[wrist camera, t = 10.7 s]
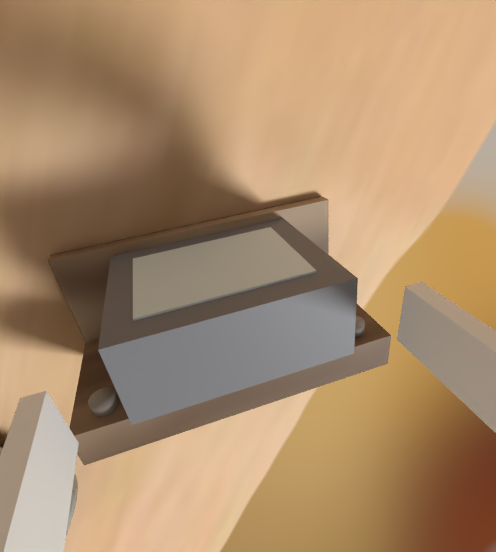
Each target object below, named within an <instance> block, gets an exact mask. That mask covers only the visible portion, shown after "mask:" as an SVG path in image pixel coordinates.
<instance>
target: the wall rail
mask: <svg viewBox="0 0 496 552" xmlns="http://www.w3.org/2000/svg"><path fill="white" fill-rule="evenodd" d="M279 218H284V219H285V220H286V221H287V222H289V223H290V224H291V225H292V226H294V227H295V228H296V229H297V230H298V231H300V232H301V233H302V234H303V235H305V236H306V237H307V238H308V239H310V240H311V241H312V242H313V243H315V244H316V245H317V246H318V247H319V248H321V249H322V250H323V251H324V252H326V253H327V254H328V199H326V198H324V197H317V198H313V199H308V200H304V201H299V202H294V203H290V204H285V205H280V206H276V207H271V208H267V209H262V210H257V211H253V212H248V213H243V214H239V215H234V216H230V217H225V218H220V219H216V220H211V221H206V222H202V223H197V224H193V225H188V226H183V227H179V228H174V229H169V230H165V231H160V232H156V233H151V234H146V235H142V236H137V237H132V238H128V239H123V240H119V241H114V242H109V243H105V244H100V245H95V246H91V247H86V248H82V249H77V250H72V251H68V252H63V253H58V254H54V255H51V257H50V259H49V261H48V262H49V264H50V266H51V268H52V271H53V273H54V275H55V277H56V279H57V281H58V283H59V286H60V288H61V290H62V292H63V294H64V296H65V299H66V301H67V303H68V305H69V307H70V309H71V312H72V314H73V316H74V318H75V320H76V322H77V325H78V327H79V329H80V331H81V333H82V335H83V337H84V340H85V342H86V344H85V349H84V355H83V360H82V365H81V371H80V376H79V381H78V386H77V392H76V397H75V402H74V408H73V413H72V418H71V423H70V430H71V431H72V433H73V435H74V436H75V438H76V440H77V441H78V443H79V445H78V452H77V454H78V456H79V457H80V459H81V461H82V462H83V464H84V465H87V464H90V463H93V462H96V461H99V460H101V459H104V458H107V457H110V456H113V455H116V454H119V453H122V452H125V451H128V450H131V449H134V448H137V447H140V446H143V445H146V444H149V443H152V442H155V441H158V440H161V439H164V438H167V437H170V436H173V435H176V434H179V433H182V432H185V431H188V430H191V429H194V428H197V427H200V426H203V425H206V424H209V423H212V422H215V421H218V420H221V419H224V418H227V417H230V416H233V415H236V414H239V413H242V412H245V411H248V410H251V409H254V408H257V407H260V406H263V405H266V404H269V403H271V402H274V401H277V400H280V399H283V398H286V397H289V396H292V395H295V394H298V393H301V392H304V391H307V390H310V389H313V388H316V387H319V386H322V385H325V384H328V383H331V382H334V381H337V380H340V379H343V378H346V377H349V376H352V375H355V374H358V373H361V372H364V371H367V370H370V369H373V368H376V367H378V366H382V365H385V364H387V363H388V356H389V348H390V339H391V335H390V334H389V333H388V332H387V331H386V330H385V329H383V328H382V327H381V326H380V325H379V324H378V323H377V322H376V321H375V320H374V319H372V317H371V316H369V315H368V314H367V313H366V312H365V311H364V310H363V309H362V308H361V307H360V306H359V305H358V304H356V323H355V344H354V354H351V355H348V356H345V357H341V358H338V359H335V360H332V361H329V362H326V363H323V364H320V365H317V366H314V367H310V368H307V369H304V370H301V371H298V372H295V373H292V374H289V375H286V376H283V377H279V378H276V379H273V380H270V381H267V382H264V383H261V384H258V385H255V386H252V387H248V388H245V389H242V390H239V391H236V392H233V393H230V394H227V395H224V396H221V397H217V398H214V399H211V400H208V401H205V402H202V403H199V404H196V405H193V406H190V407H186V408H183V409H180V410H177V411H174V412H171V413H168V414H165V415H162V416H159V417H155V418H152V419H149V420H146V421H143V422H140V423H137V424H134V425H131V422H130V420H129V418H128V416H127V413H126V411H125V409H124V407H123V404H122V402H121V400H120V398H119V396H118V393H117V391H116V389H115V387H114V384H113V382H112V380H111V378H110V375H109V373H108V371H107V369H106V367H105V364H104V362H103V360H102V358H101V355H100V353H99V351H98V347H99V339H100V332H101V325H102V317H103V310H104V302H105V295H106V288H107V280H108V273H109V266H110V258H111V256H115V255H120V254H124V253H128V252H133V251H137V250H142V249H146V248H151V247H155V246H160V245H164V244H168V243H173V242H177V241H182V240H186V239H191V238H195V237H199V236H204V235H208V234H213V233H217V232H222V231H226V230H231V229H235V228H239V227H244V226H248V225H253V224H257V223H262V222H266V221H270V220H275V219H279Z"/></svg>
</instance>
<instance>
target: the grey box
mask: <svg viewBox="0 0 496 552" xmlns="http://www.w3.org/2000/svg"><path fill="white" fill-rule="evenodd" d="M357 282H358V278H356V277H355V276H354V275H353V274H352V273H350V272H349V271H348V270H347V269H345V268H344V267H343V266H342V265H340V264H339V263H338V262H337V261H335V260H334V259H333V258H332V257H331V256H329V255H328V254H327V253H326V252H324V251H323V250H322V249H321V248H319V247H318V246H317V245H316V244H315V243H313V242H312V241H311V240H310V239H308V238H307V237H306V236H305V235H303V234H302V233H301V232H300V231H298V230H297V229H296V228H295V227H294V226H292V225H291V224H290V223H289V222H287V221H286V220H285V219H284V218H279V219H275V220H270V221H266V222H262V223H257V224H253V225H248V226H244V227H239V228H235V229H231V230H226V231H222V232H217V233H213V234H208V235H204V236H199V237H195V238H191V239H186V240H182V241H177V242H173V243H168V244H164V245H160V246H155V247H151V248H146V249H142V250H137V251H133V252H128V253H124V254H120V255H115V256H111V258H110V266H109V273H108V280H107V288H106V295H105V302H104V310H103V317H102V325H101V332H100V339H99V347H98V351H99V353H100V355H101V358H102V360H103V362H104V364H105V367H106V369H107V371H108V373H109V375H110V378H111V380H112V382H113V384H114V387H115V389H116V391H117V393H118V396H119V398H120V400H121V402H122V404H123V407H124V409H125V411H126V413H127V416H128V418H129V420H130V422H131V425H134V424H137V423H140V422H143V421H146V420H149V419H152V418H155V417H159V416H162V415H165V414H168V413H171V412H174V411H177V410H180V409H183V408H186V407H190V406H193V405H196V404H199V403H202V402H205V401H208V400H211V399H214V398H217V397H221V396H224V395H227V394H230V393H233V392H236V391H239V390H242V389H245V388H248V387H252V386H255V385H258V384H261V383H264V382H267V381H270V380H273V379H276V378H279V377H283V376H286V375H289V374H292V373H295V372H298V371H301V370H304V369H307V368H310V367H314V366H317V365H320V364H323V363H326V362H329V361H332V360H335V359H338V358H341V357H345V356H348V355H351V354H354V344H355V323H356V303H357Z"/></svg>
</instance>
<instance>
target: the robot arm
mask: <svg viewBox="0 0 496 552" xmlns="http://www.w3.org/2000/svg"><path fill="white" fill-rule="evenodd" d="M397 340H398V341H399V342H400V343H401V344H402V345H403V346H404V347H405V348H406V349H407V350H409V351H410V352H411V353H412V354H413V355H414V356H415V357H416V358H417V359H418V360H419V361H420V362H421V363H422V364H423V365H424V366H425V367H427V368H428V369H429V370H430V371H431V372H432V373H433V374H434V375H435V376H436V377H437V378H438V379H439V380H440V381H441V382H442V383H443V384H444V385H445V386H447V387H448V388H449V389H450V390H451V391H452V392H453V393H454V394H455V395H456V396H457V397H458V398H459V399H460V400H461V401H462V402H464V403H465V404H466V405H467V406H468V407H469V408H470V409H471V410H472V411H473V412H474V413H475V414H476V415H477V416H478V417H479V418H480V419H481V420H482V421H484V423H486V424H487V425H488V426H489V427H490V428H491V429H492V430H493V431H494V432H495V433H496V331H495V330H493V329H492V328H490V327H489V326H487V325H486V324H484V323H483V322H481V321H480V320H478V319H477V318H475V317H474V316H472V315H471V314H469V313H468V312H466V311H465V310H463V309H462V308H461V307H459V306H458V305H456V304H454V303H453V302H451V301H450V300H448V299H447V298H446V297H444V296H443V295H441V294H440V293H438V292H436V291H435V290H434V289H432V288H431V287H429V286H428V285H426V284H425V283H423V282H419V283H415V284H412V285H409V286H405V292H404V298H403V304H402V311H401V318H400V324H399V330H398V337H397ZM78 445H79V443H78V441H77V440H76V438H75V436H74V435H73V433H72V431H71V430H70V428H69V427H68V425H67V423H66V422H65V420H64V418H63V417H62V415H61V414H60V412H59V410H58V409H57V407H56V405H55V404H54V402H53V401H52V399H51V397H50V396H49V394H48V392H47V391H44V392H41V393H37V394H34V395H30V396H27V397H23V398H20V400H19V403H18V406H17V409H16V412H15V415H14V418H13V420H12V423H11V426H10V429H9V432H8V435H7V438H6V441H5V444H4V447H3V449H2V452H1V455H0V552H64V546H65V539H66V531H67V524H68V517H69V510H70V503H71V495H72V488H73V481H74V474H75V466H76V459H77V452H78Z"/></svg>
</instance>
